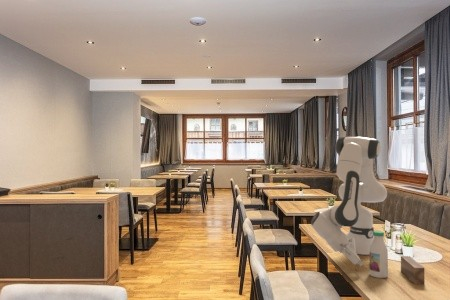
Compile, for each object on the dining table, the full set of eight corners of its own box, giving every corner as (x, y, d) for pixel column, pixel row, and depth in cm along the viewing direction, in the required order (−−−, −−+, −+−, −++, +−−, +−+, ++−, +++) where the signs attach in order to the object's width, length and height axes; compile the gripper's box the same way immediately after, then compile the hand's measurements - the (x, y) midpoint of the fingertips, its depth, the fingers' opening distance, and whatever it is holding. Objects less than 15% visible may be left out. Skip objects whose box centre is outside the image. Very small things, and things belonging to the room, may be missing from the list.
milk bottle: (383, 272, 172) (382, 229, 172) (391, 278, 164) (390, 233, 164) (366, 273, 171) (366, 230, 171) (373, 278, 164) (373, 233, 164)
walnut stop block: (414, 284, 157) (414, 267, 157) (400, 270, 175) (400, 255, 175) (424, 284, 156) (424, 268, 156) (409, 271, 174) (409, 256, 174)
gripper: (348, 242, 160) (372, 266, 158) (341, 232, 180) (362, 253, 178) (337, 252, 160) (361, 276, 159) (331, 241, 181) (352, 262, 179)
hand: (361, 264), depth 169 cm, fingers closed
